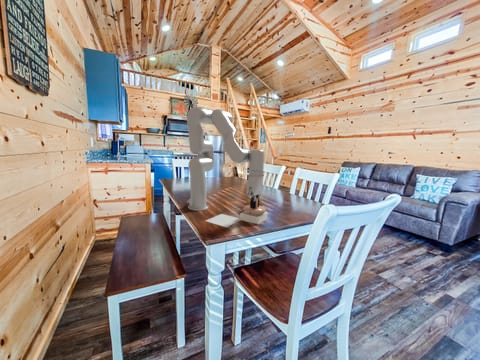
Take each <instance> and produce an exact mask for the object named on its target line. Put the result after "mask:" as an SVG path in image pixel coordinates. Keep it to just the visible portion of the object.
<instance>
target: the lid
mask: <svg viewBox="0 0 480 360" xmlns="http://www.w3.org/2000/svg"><path fill="white" fill-rule="evenodd" d="M252 197H253V196H252ZM253 198H254V197H253ZM255 201H256V208H255V209H253V208H250V205H244V206H243V208H242V209H243V212H244V211H246V212H249V213H263V212H267V207H265V206H264V205H263V206H260V205H259V207H258V198H256V199H255Z"/></svg>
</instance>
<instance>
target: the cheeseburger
mask: <svg viewBox="0 0 480 360" xmlns="http://www.w3.org/2000/svg"><path fill="white" fill-rule="evenodd" d="M247 205H250V199H249V198H248V199H247V200H246V203H245V206H247ZM259 205H260V206H263V207H264V204H263V202H262V200H261V198H260V199H259Z"/></svg>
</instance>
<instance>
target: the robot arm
mask: <svg viewBox="0 0 480 360" xmlns="http://www.w3.org/2000/svg"><path fill="white" fill-rule="evenodd" d="M186 115H187V116H186V124H187V128H188V143H189V144H188V145H189V151H190V152H191V154H193V155H196V156H195V157H193V158H191V159H190V160H189V162H188V170H189V178H190V182H189V183H190V184H189V185H190V198H189V199H188V200H187V201H186V203H189V205H188V206H187V209H189V210H190V211H198V212H199V211H204V210H207V209H209V205H208V204H207V177H206V174H205V172H206V173H207V172H211V171H212V170H213V169H214V166H215V152H214V145H213V142H211V140H209V139H207V138H205V137H204V136H205V135H204V129H203V127H202V125H201V124H206V125H207V124H208V125H213V126H214V128H216V129H215V130H216V131H217V132H218V133H219V135H220V136H221V138H222V143H223V149H224V150H225V152H226V154H227V155H228V156H229V157H228V158H230V159H231V161H232V162H234V163H236V164H244V163H248V176H247V181H246V193H245V194H246V195H247V198H248V200H249V199H250V208H253V209H255V208H256V201H255V199H256V198H258V207H259V199H261V195H262V193H263V189H264V181H263V180H264V179H263V177H264V166H265V164H264V162H265V151H264V149H257V148H256V149H255V148H254V149H252V148H244V147H243V148H241V147H240V146H239V144H238V143H237V142H236V139H235V135H236V134H237V129H236V127H235V126H234V124H233V119H234V118H233V115H232V114H231V113H230V111H228V110H223V109H210V108H207V107H203V106H194V107H192V108H190V110H189V111H188V113H187V114H186ZM197 155H200V156H197ZM253 197H254V198H253Z"/></svg>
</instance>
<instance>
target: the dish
mask: <svg viewBox="0 0 480 360" xmlns="http://www.w3.org/2000/svg"><path fill="white" fill-rule="evenodd" d="M268 216H269V212H268V211H265V212H263V213H249V212H246V211H244V210H243V211H242V212H240V214H239V218H240V221H243V222H247V223H251V224H254V225H260V224H262V223H263V222H265V221H266V220H268V219H269V217H268Z"/></svg>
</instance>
